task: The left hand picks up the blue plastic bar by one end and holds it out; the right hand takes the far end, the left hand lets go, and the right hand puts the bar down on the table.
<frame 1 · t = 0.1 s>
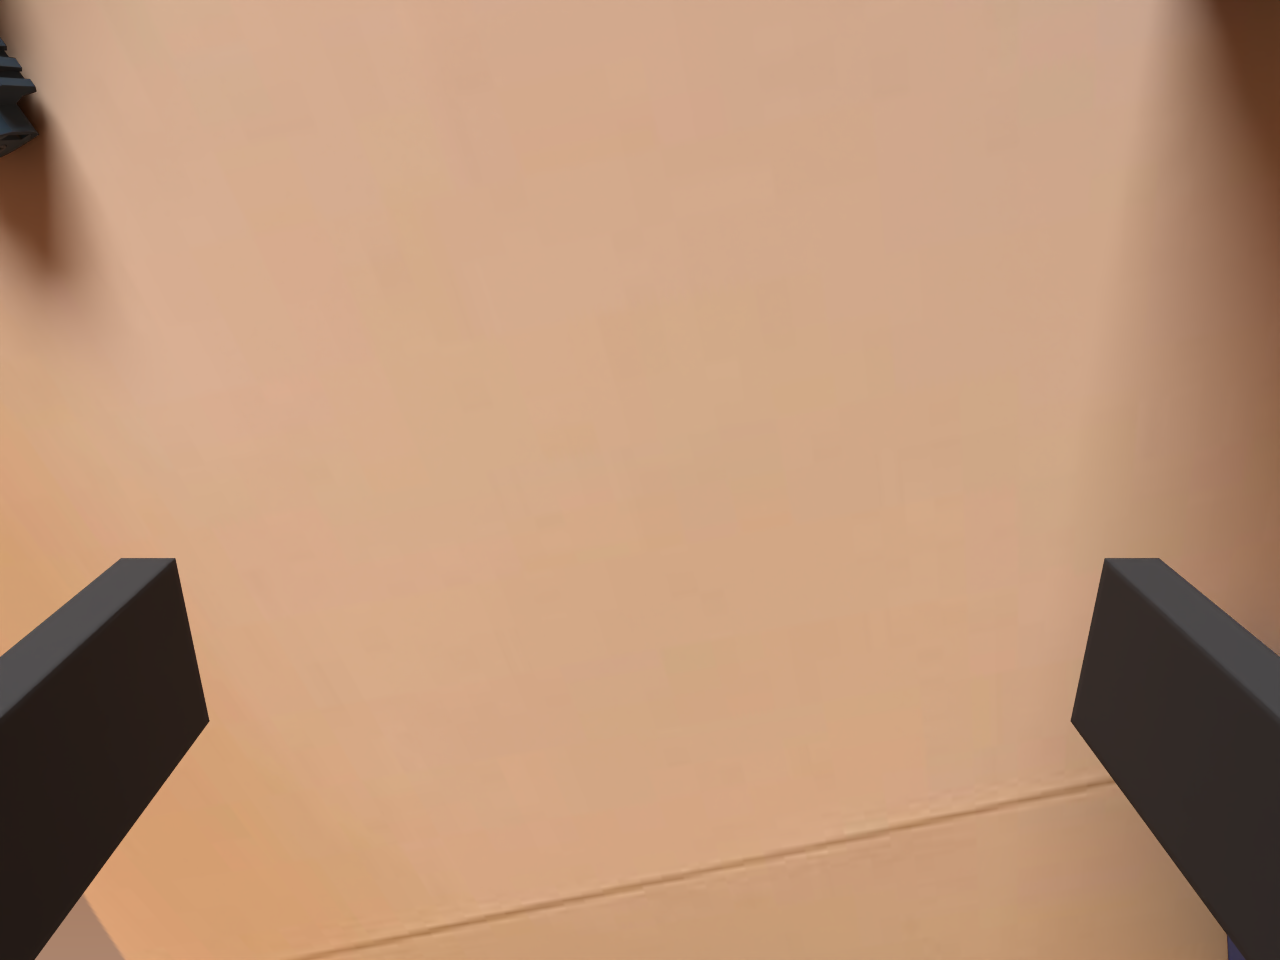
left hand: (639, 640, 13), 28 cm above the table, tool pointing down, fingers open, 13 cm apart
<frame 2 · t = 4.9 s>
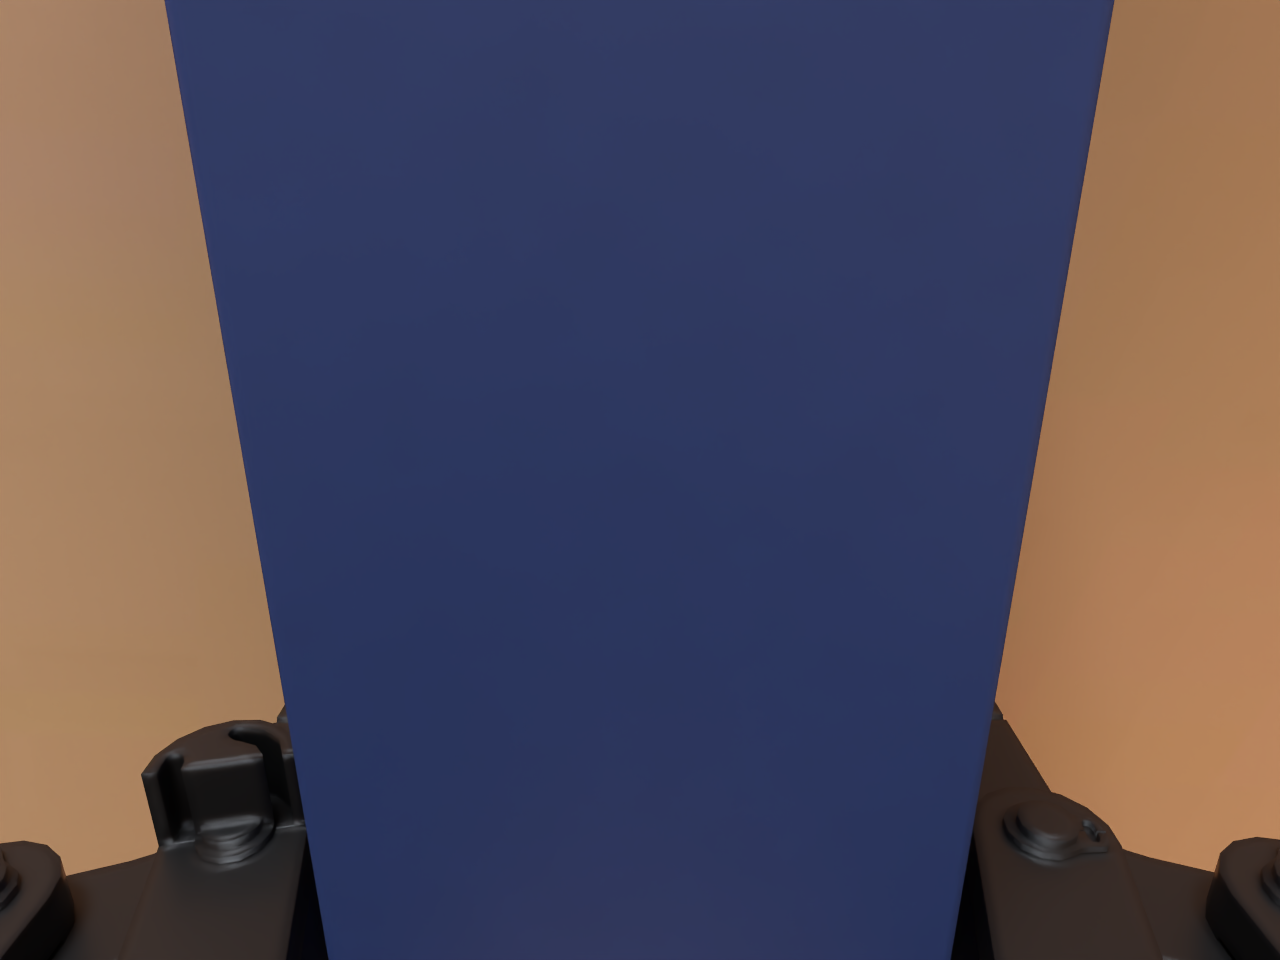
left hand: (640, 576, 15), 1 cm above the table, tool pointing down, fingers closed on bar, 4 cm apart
bar: (639, 86, 13), on the table, touching left hand
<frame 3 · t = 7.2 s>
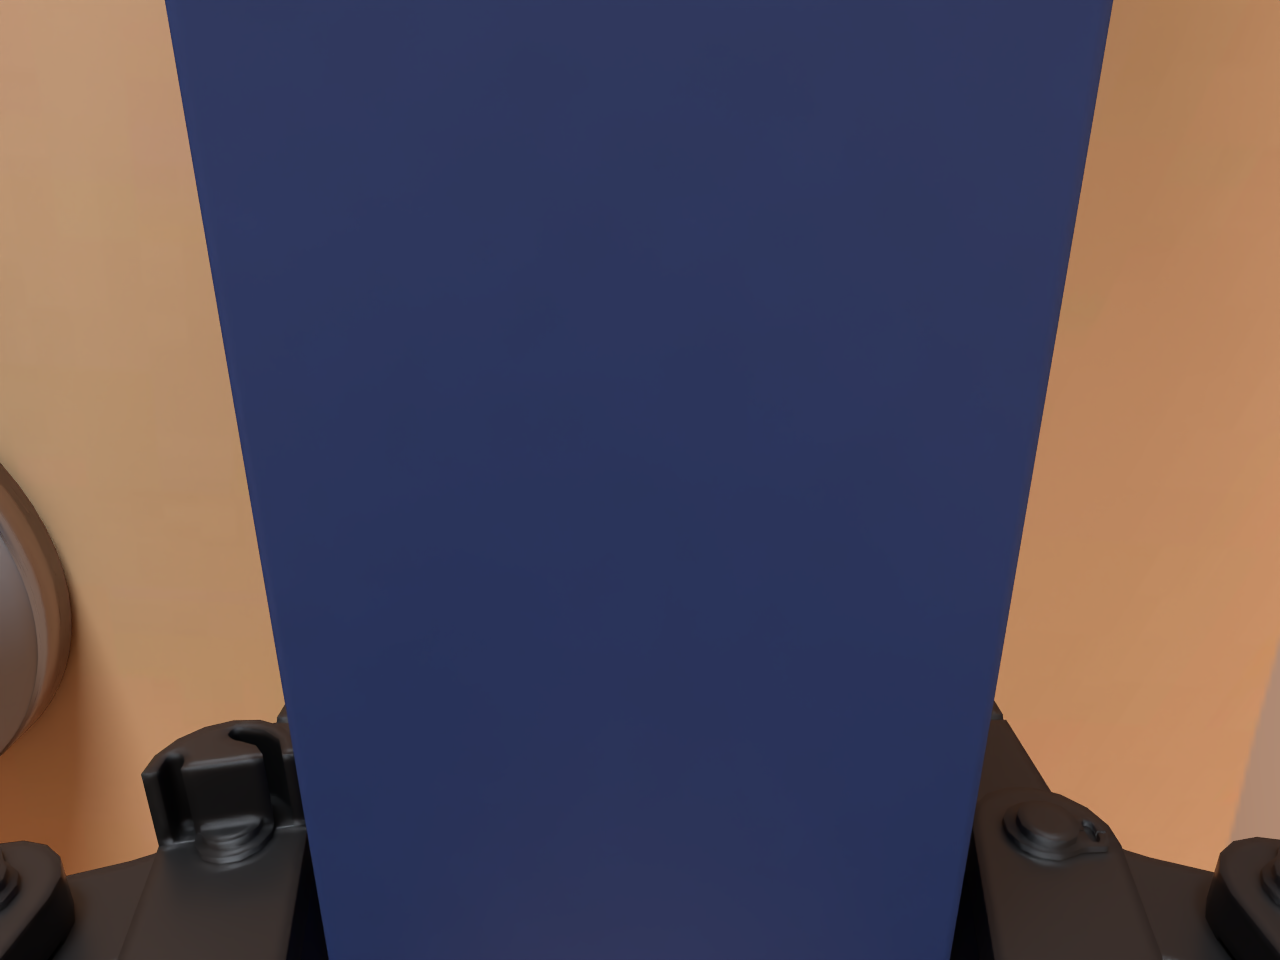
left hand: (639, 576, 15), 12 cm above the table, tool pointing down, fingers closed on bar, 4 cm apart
bar: (639, 87, 13), point 12 cm above the table, touching left hand
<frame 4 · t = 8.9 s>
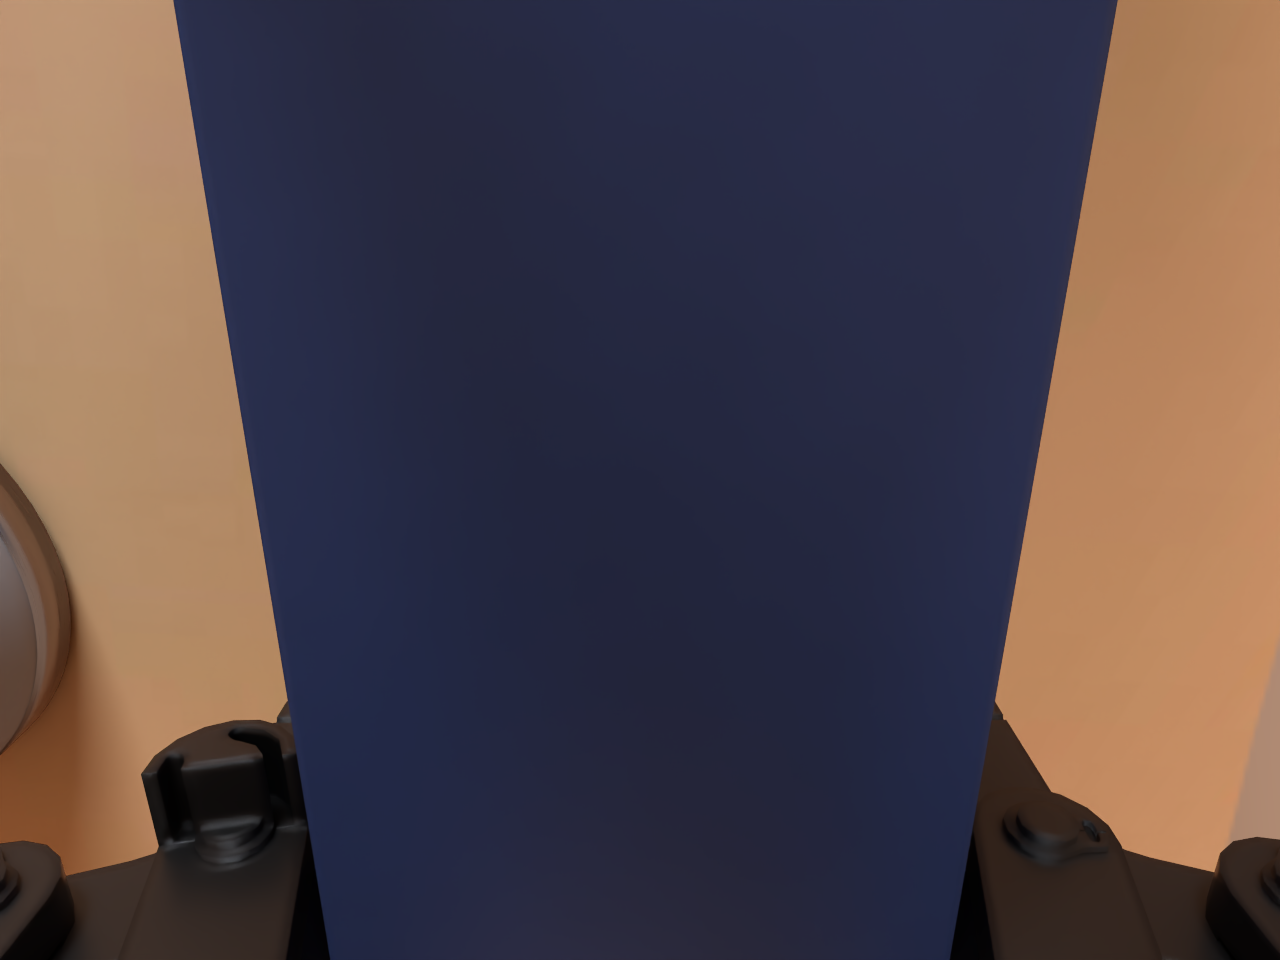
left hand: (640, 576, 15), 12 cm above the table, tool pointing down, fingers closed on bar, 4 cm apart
bar: (641, 87, 13), point 12 cm above the table, touching left hand, right hand
when the left hand's fingers open (12 cm above the table, at t = 9.7 s): bar stays where it is, held by the right hand.
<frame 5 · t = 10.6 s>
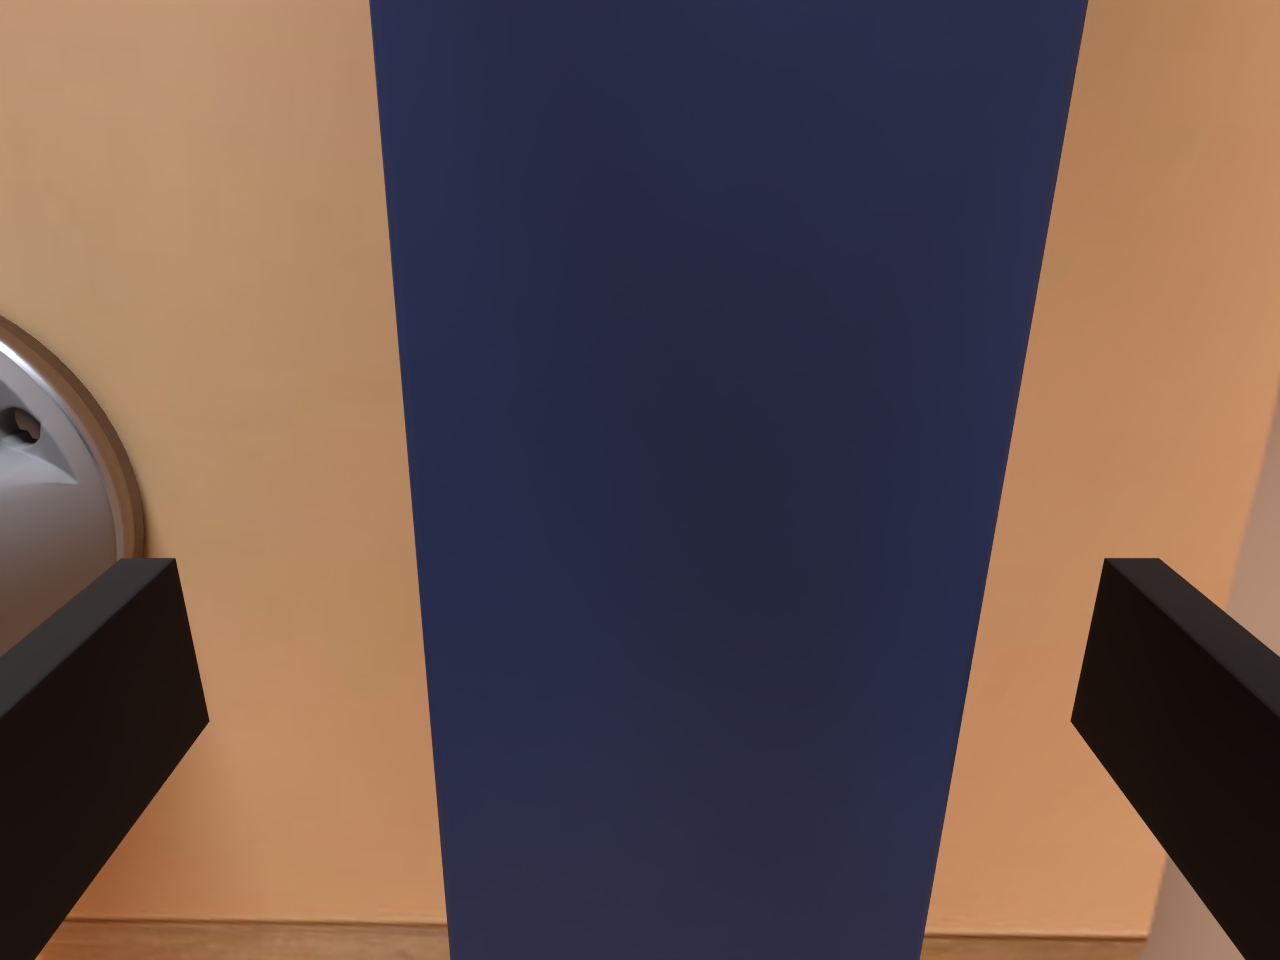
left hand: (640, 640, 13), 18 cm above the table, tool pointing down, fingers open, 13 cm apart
bar: (684, 14, 14), point 14 cm above the table, touching right hand
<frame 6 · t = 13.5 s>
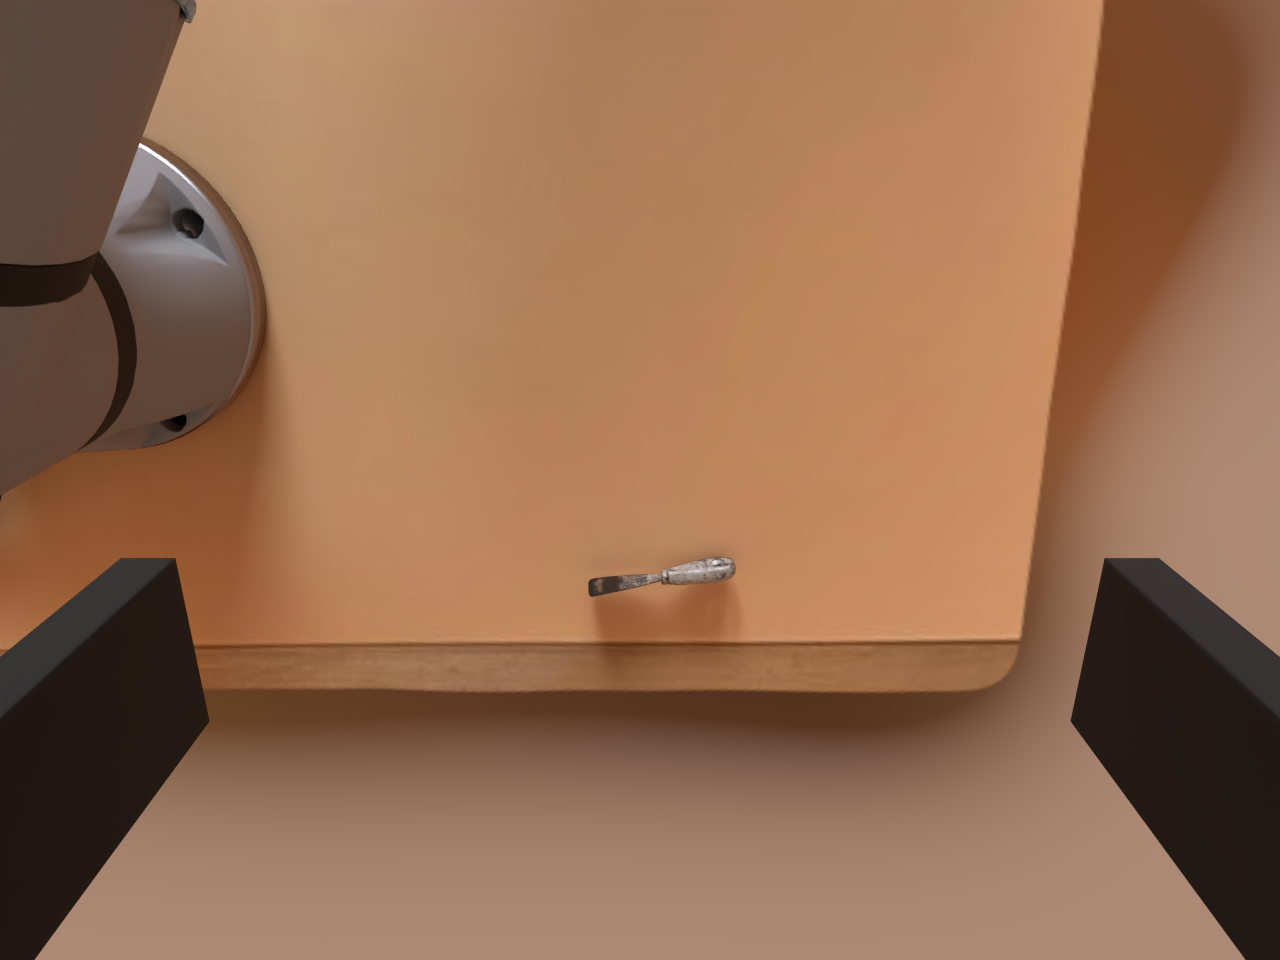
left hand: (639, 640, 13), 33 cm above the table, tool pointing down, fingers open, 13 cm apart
putty knife: (661, 570, 49), on the table
when the right hand's fingers open (6 cm above the table, at t = 16.5 s): bar drops 2 cm, on the table.
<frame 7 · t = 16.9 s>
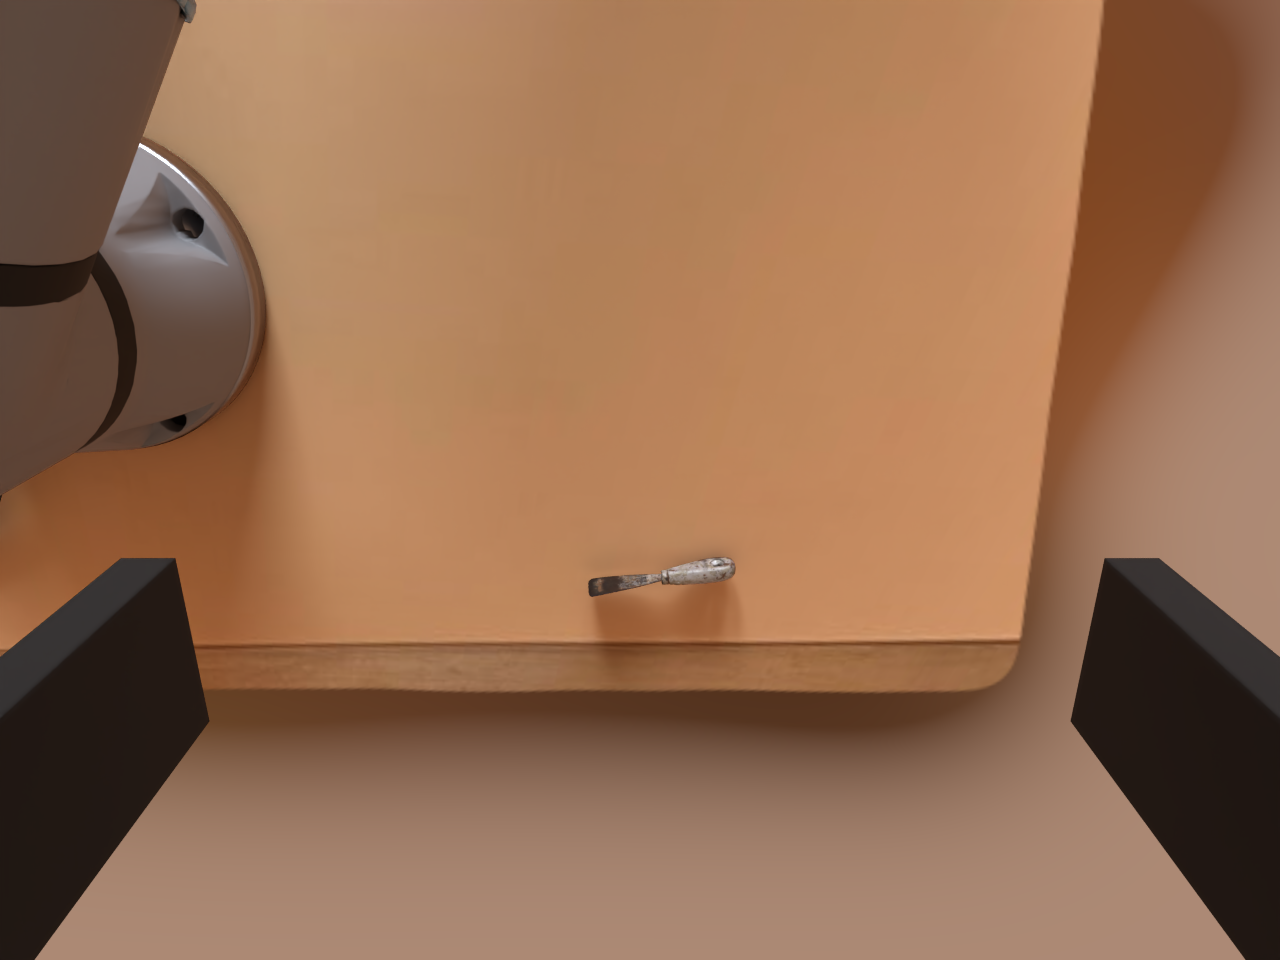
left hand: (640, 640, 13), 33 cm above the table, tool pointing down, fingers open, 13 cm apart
putty knife: (661, 570, 49), on the table
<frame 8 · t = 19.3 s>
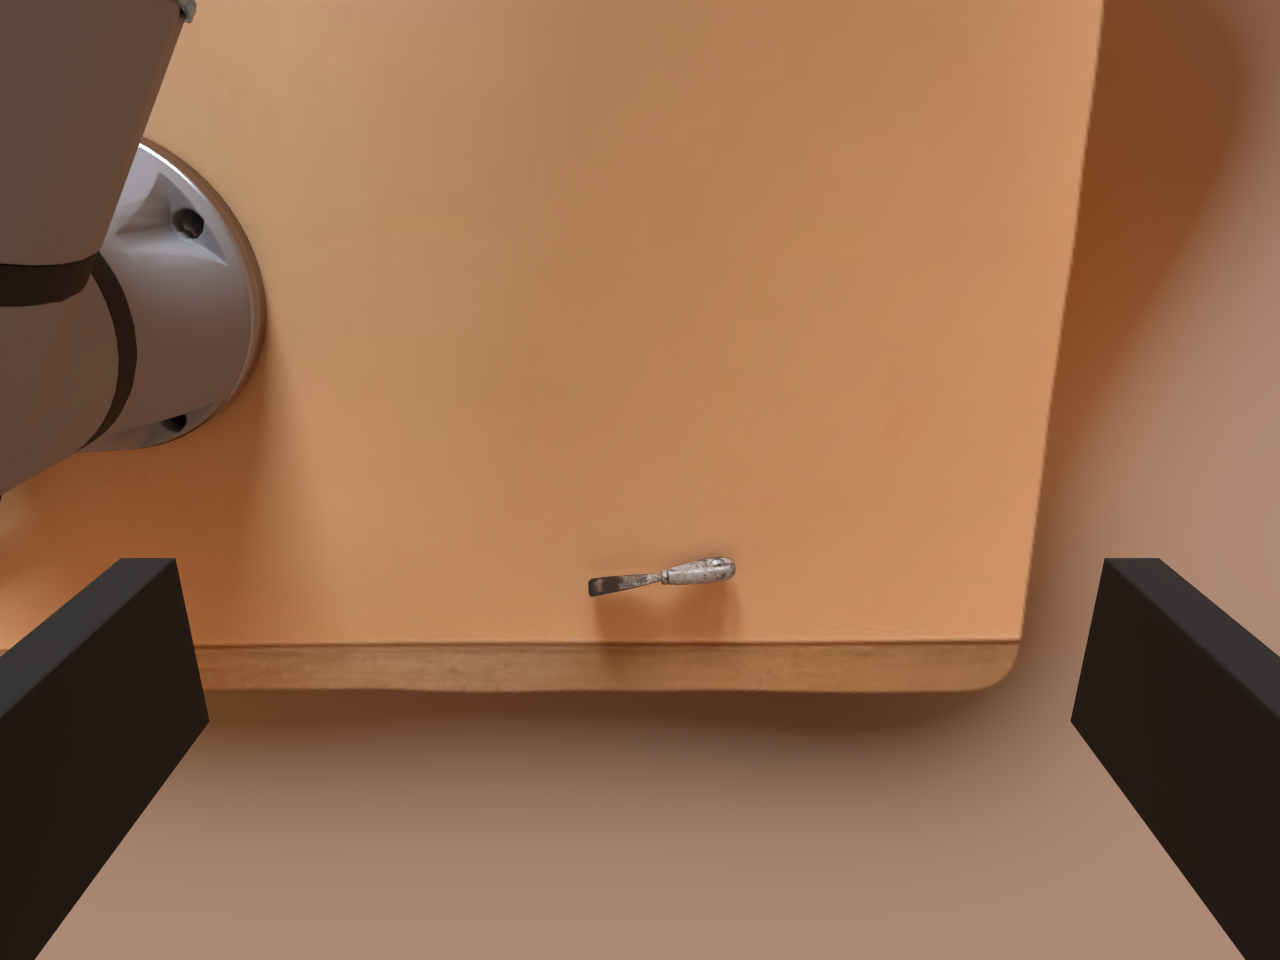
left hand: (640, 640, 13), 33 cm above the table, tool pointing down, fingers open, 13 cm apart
putty knife: (661, 570, 49), on the table
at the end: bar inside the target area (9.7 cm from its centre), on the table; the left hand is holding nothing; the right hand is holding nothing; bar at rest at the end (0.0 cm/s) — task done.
